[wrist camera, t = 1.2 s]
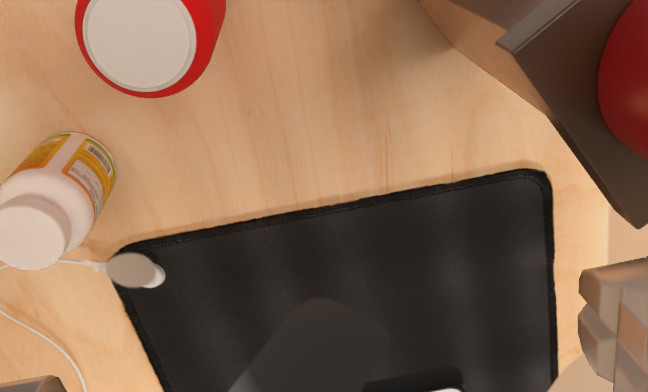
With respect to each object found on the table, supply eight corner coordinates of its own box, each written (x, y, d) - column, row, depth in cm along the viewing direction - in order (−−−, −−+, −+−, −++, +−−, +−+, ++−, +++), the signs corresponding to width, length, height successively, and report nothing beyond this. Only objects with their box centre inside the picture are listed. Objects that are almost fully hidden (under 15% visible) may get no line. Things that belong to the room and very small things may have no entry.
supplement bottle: (29, 192, 41) (-35, 270, 32) (39, 120, 38) (-26, 182, 30) (110, 211, 42) (70, 292, 33) (124, 142, 40) (86, 209, 31)
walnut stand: (376, -26, 36) (511, 53, 17) (481, -123, 35) (771, -161, 15) (450, 70, 40) (638, 231, 20) (551, -15, 38) (867, 71, 18)
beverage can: (233, -45, 35) (220, -23, 24) (220, 58, 38) (203, 119, 27) (126, -67, 34) (64, -55, 23) (120, 41, 37) (62, 96, 26)
